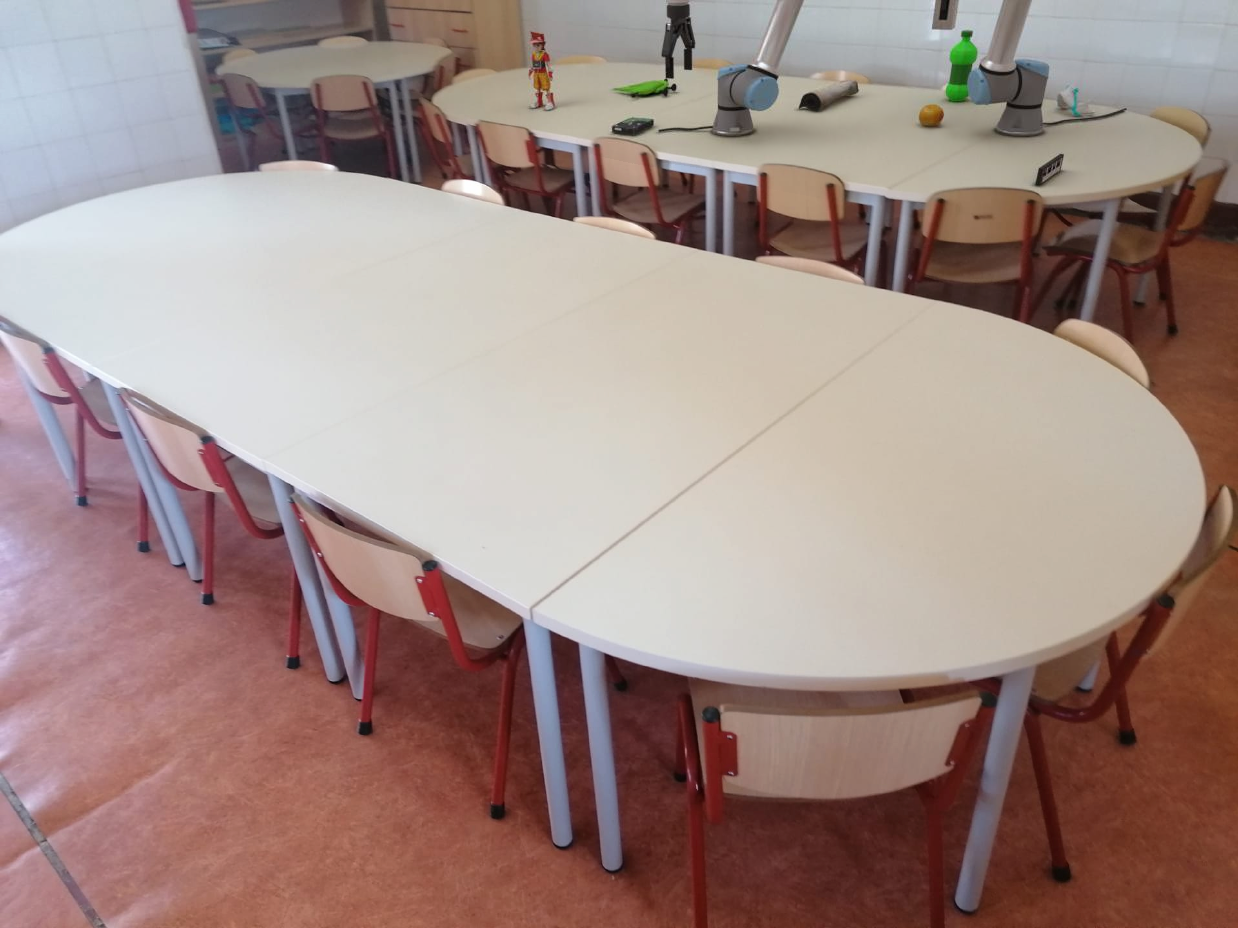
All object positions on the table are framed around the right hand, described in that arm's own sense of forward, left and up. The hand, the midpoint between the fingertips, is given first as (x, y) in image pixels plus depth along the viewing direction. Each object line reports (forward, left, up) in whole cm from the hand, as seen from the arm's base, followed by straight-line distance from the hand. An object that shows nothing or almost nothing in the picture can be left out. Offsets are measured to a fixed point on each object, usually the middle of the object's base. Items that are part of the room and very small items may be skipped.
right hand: (944, 18), depth 329 cm
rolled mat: (+31, -27, -32) cm, 52 cm away
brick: (0, 0, -3) cm, 3 cm away
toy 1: (+142, -72, -32) cm, 162 cm away
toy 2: (+96, -81, -32) cm, 129 cm away
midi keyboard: (+10, +88, -32) cm, 94 cm away
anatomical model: (-43, +25, -32) cm, 59 cm away
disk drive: (+115, -20, -32) cm, 121 cm away
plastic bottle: (-16, -9, -32) cm, 37 cm away
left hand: (+107, +18, -6) cm, 109 cm away
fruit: (+12, +20, -32) cm, 40 cm away
